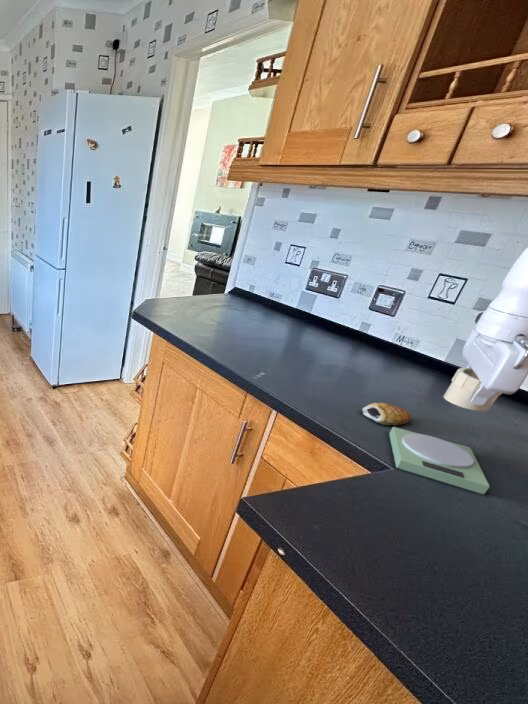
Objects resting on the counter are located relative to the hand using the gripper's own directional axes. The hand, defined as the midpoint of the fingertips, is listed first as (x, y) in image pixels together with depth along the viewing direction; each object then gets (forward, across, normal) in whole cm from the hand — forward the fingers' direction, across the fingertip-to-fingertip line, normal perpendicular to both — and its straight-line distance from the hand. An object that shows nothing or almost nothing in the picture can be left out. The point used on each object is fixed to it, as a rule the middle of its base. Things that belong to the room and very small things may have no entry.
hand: (470, 394), depth 81 cm
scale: (+15, -2, 0) cm, 15 cm away
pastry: (+15, +13, +7) cm, 21 cm away
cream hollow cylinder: (+2, 0, 0) cm, 2 cm away
